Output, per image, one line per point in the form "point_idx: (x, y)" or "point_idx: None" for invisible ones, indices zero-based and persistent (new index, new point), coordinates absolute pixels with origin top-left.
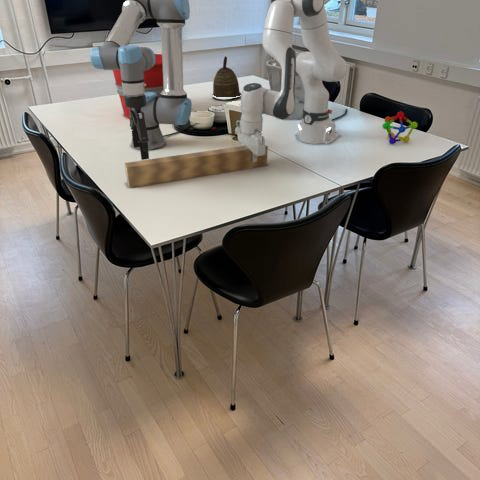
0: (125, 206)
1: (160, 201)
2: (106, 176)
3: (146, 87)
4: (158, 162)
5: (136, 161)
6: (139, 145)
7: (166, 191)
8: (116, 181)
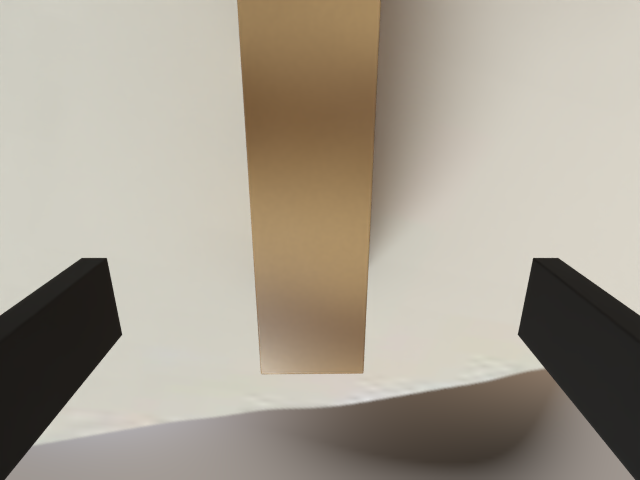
0: None
1: (616, 168)
2: (147, 371)
3: None
4: (368, 99)
5: (263, 287)
6: (99, 283)
7: (507, 93)
8: (234, 336)
